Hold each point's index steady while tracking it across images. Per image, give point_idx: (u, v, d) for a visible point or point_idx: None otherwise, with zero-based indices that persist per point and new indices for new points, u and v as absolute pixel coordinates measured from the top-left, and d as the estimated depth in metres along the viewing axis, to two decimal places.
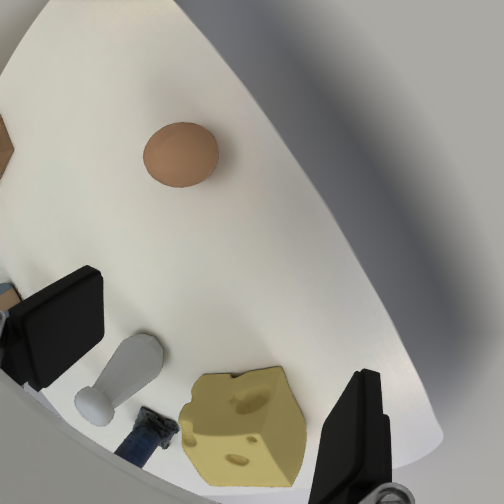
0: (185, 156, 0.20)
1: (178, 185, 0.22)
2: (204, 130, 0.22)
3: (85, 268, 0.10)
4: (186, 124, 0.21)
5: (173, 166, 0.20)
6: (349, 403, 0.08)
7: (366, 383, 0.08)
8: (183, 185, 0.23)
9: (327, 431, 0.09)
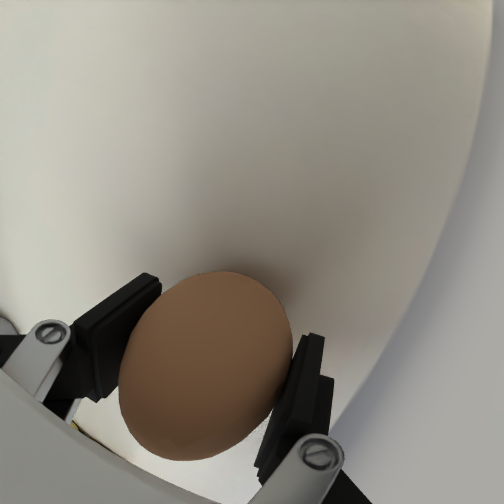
0: None
1: None
2: (288, 372, 0.10)
3: (144, 275, 0.10)
4: (275, 371, 0.08)
5: None
6: (293, 363, 0.09)
7: (308, 344, 0.09)
8: None
9: None
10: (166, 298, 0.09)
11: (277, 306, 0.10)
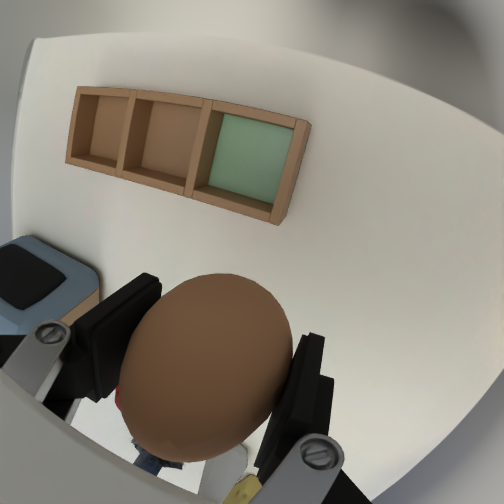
0: None
1: None
2: (288, 374, 0.10)
3: (144, 275, 0.10)
4: (275, 373, 0.08)
5: None
6: (293, 363, 0.09)
7: (308, 344, 0.09)
8: None
9: None
10: (166, 300, 0.09)
11: (277, 308, 0.10)
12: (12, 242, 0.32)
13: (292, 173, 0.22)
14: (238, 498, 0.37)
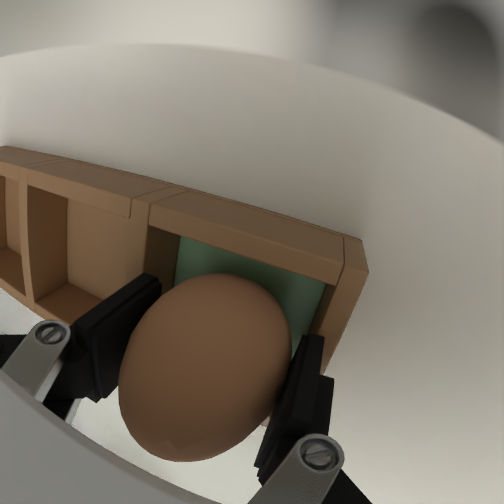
0: None
1: None
2: (288, 373, 0.10)
3: (144, 275, 0.10)
4: (274, 373, 0.08)
5: None
6: (293, 363, 0.09)
7: (308, 344, 0.09)
8: None
9: None
10: (166, 300, 0.09)
11: (276, 308, 0.10)
12: None
13: (323, 370, 0.10)
14: None
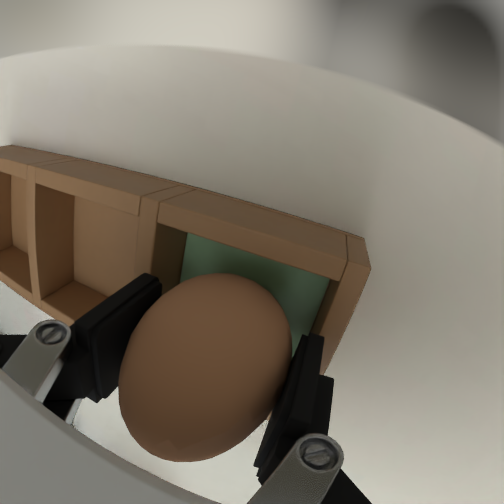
0: None
1: None
2: (288, 373, 0.10)
3: (144, 276, 0.10)
4: (274, 373, 0.08)
5: None
6: (293, 363, 0.09)
7: (308, 344, 0.09)
8: None
9: None
10: (166, 300, 0.09)
11: (277, 308, 0.10)
12: None
13: (326, 364, 0.11)
14: None
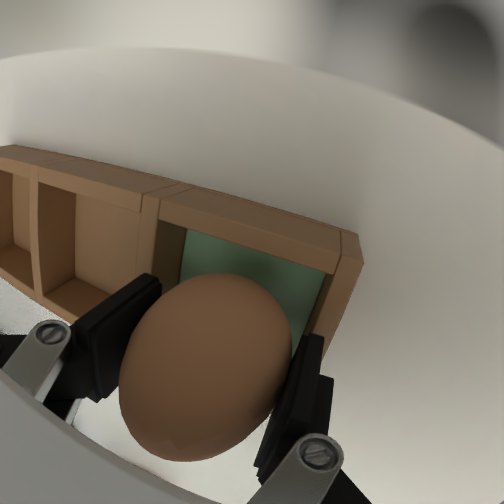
0: None
1: None
2: (288, 373, 0.10)
3: (144, 276, 0.10)
4: (274, 372, 0.08)
5: None
6: (293, 363, 0.09)
7: (308, 344, 0.09)
8: None
9: None
10: (166, 300, 0.09)
11: (277, 307, 0.10)
12: None
13: (322, 355, 0.11)
14: None
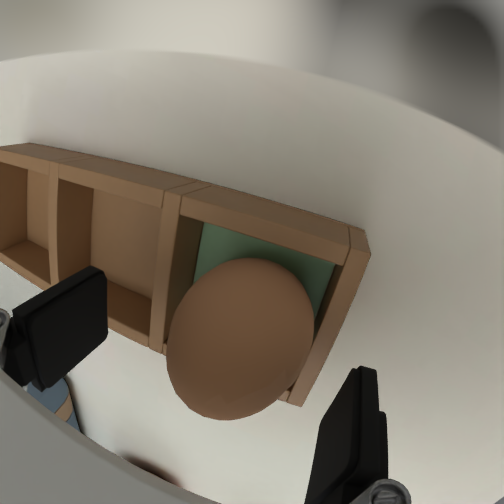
0: None
1: None
2: (311, 343, 0.11)
3: (89, 268, 0.10)
4: (303, 338, 0.10)
5: None
6: (346, 400, 0.08)
7: (362, 380, 0.08)
8: None
9: (324, 428, 0.09)
10: (209, 278, 0.11)
11: (301, 286, 0.12)
12: None
13: (332, 342, 0.12)
14: None
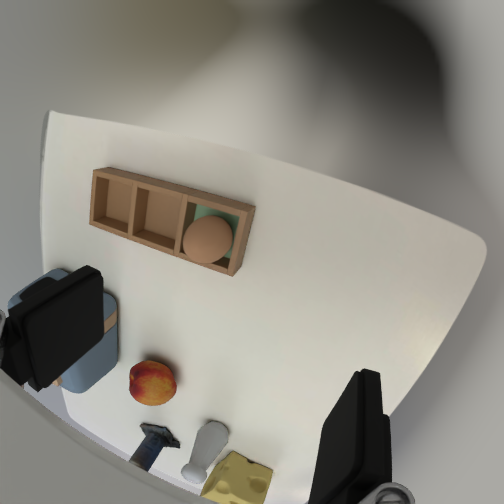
0: (207, 259, 0.33)
1: None
2: (230, 242, 0.35)
3: (85, 268, 0.10)
4: (224, 236, 0.34)
5: (197, 260, 0.33)
6: (349, 403, 0.08)
7: (366, 383, 0.08)
8: None
9: (327, 431, 0.09)
10: (197, 219, 0.35)
11: (227, 224, 0.36)
12: (47, 275, 0.46)
13: (239, 245, 0.36)
14: (222, 469, 0.50)
